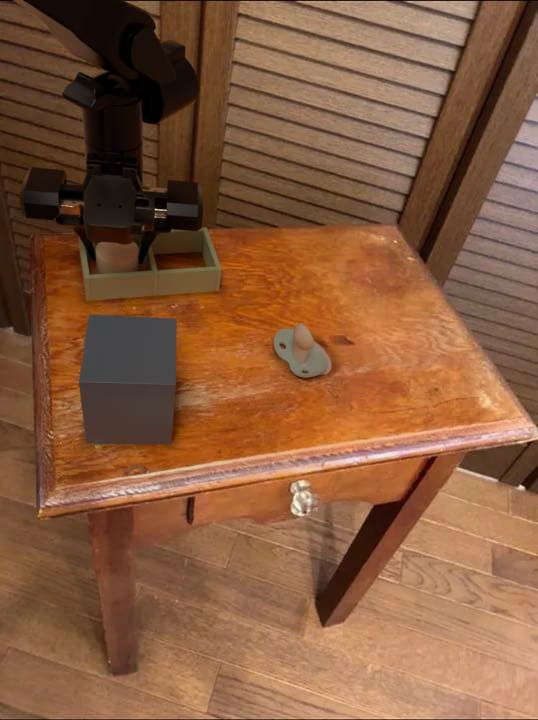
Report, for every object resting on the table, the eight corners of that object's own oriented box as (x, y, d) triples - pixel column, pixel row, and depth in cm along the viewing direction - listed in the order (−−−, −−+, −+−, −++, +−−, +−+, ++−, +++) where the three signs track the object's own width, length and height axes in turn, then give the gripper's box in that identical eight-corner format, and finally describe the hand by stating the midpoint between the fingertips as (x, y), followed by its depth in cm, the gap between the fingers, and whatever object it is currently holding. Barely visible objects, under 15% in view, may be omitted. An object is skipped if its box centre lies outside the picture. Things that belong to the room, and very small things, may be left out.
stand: (86, 447, 56) (78, 381, 49) (94, 382, 61) (88, 313, 54) (171, 448, 58) (176, 384, 50) (172, 384, 63) (176, 318, 55)
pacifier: (304, 333, 71) (264, 348, 68) (316, 294, 67) (275, 309, 64) (341, 374, 68) (301, 392, 65) (357, 337, 64) (315, 354, 60)
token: (94, 279, 69) (93, 262, 67) (98, 252, 72) (97, 235, 70) (138, 281, 69) (138, 265, 68) (140, 254, 73) (140, 238, 71)
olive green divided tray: (87, 304, 68) (84, 278, 65) (80, 259, 73) (77, 232, 70) (218, 294, 73) (222, 269, 70) (204, 252, 78) (206, 227, 75)
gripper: (-4, 173, 51) (22, 302, 63) (210, 192, 55) (197, 311, 66) (19, 112, 59) (39, 238, 70) (206, 132, 62) (196, 249, 74)
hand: (117, 260), depth 70 cm, fingers closed on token, 5 cm apart
